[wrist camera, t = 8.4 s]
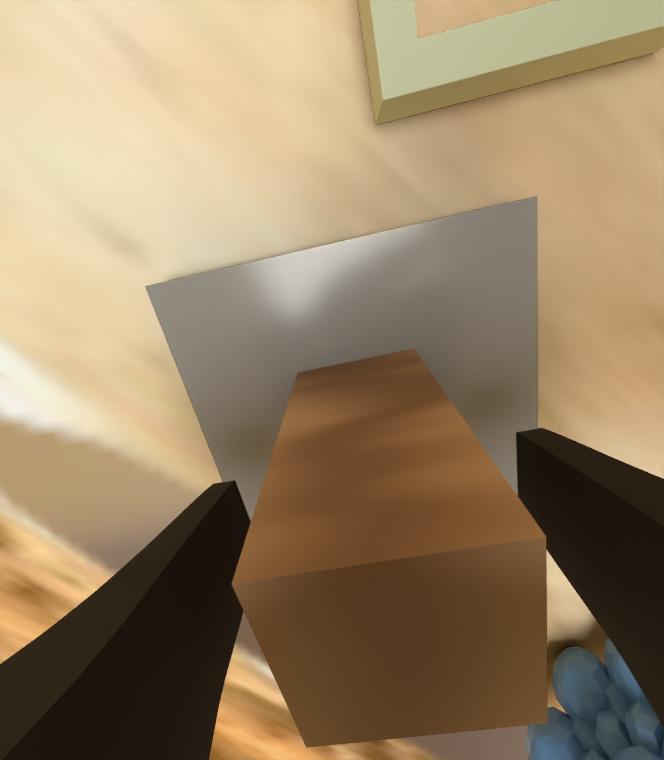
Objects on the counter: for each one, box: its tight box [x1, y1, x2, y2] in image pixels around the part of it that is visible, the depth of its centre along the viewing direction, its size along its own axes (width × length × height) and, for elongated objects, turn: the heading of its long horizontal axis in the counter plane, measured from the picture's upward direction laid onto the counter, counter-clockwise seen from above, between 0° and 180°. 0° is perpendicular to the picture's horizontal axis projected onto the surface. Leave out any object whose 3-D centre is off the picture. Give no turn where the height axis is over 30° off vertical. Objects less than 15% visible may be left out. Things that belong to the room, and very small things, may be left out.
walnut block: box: [232, 348, 547, 747], centre depth 9 cm, size 4×4×8 cm
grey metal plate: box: [145, 196, 538, 521], centre depth 13 cm, size 12×12×2 cm
